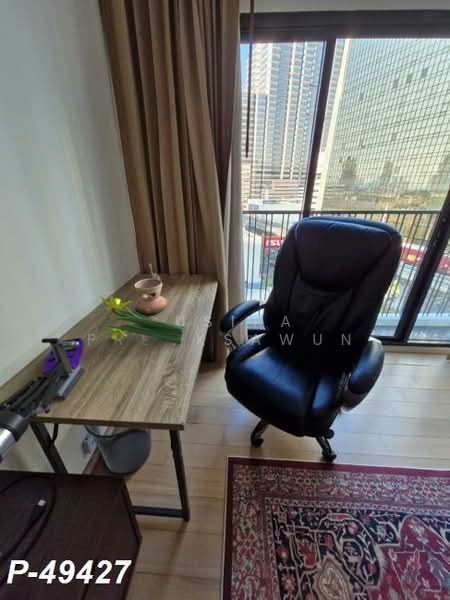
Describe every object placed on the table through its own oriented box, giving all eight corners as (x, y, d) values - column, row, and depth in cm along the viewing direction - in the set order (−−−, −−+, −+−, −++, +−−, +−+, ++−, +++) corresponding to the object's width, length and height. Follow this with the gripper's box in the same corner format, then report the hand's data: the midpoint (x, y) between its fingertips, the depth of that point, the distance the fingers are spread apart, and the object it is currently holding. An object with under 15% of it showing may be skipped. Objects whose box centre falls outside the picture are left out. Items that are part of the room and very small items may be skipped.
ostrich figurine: (159, 296, 137) (154, 265, 129) (147, 296, 138) (142, 264, 130) (170, 284, 152) (166, 255, 143) (159, 284, 153) (155, 255, 144)
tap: (54, 378, 80) (38, 342, 74) (59, 371, 83) (45, 336, 77) (86, 377, 80) (74, 341, 74) (91, 370, 83) (79, 335, 77)
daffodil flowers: (174, 358, 92) (79, 335, 90) (178, 353, 106) (96, 333, 104) (186, 313, 93) (93, 289, 91) (189, 314, 108) (108, 294, 106)
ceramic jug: (162, 318, 116) (158, 290, 109) (131, 318, 116) (125, 290, 110) (171, 301, 132) (168, 275, 125) (144, 300, 132) (140, 275, 126)
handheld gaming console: (40, 371, 81) (53, 340, 93) (46, 382, 84) (58, 351, 96) (72, 365, 83) (81, 336, 95) (77, 376, 86) (85, 346, 98)
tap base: (41, 400, 74) (38, 393, 73) (64, 371, 85) (61, 365, 84) (65, 399, 74) (62, 393, 73) (84, 371, 85) (82, 365, 84)
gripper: (-22, 447, 58) (43, 374, 79) (34, 446, 58) (84, 374, 79) (-38, 425, 55) (34, 356, 76) (22, 424, 55) (77, 355, 76)
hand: (60, 365), depth 78 cm, fingers closed
